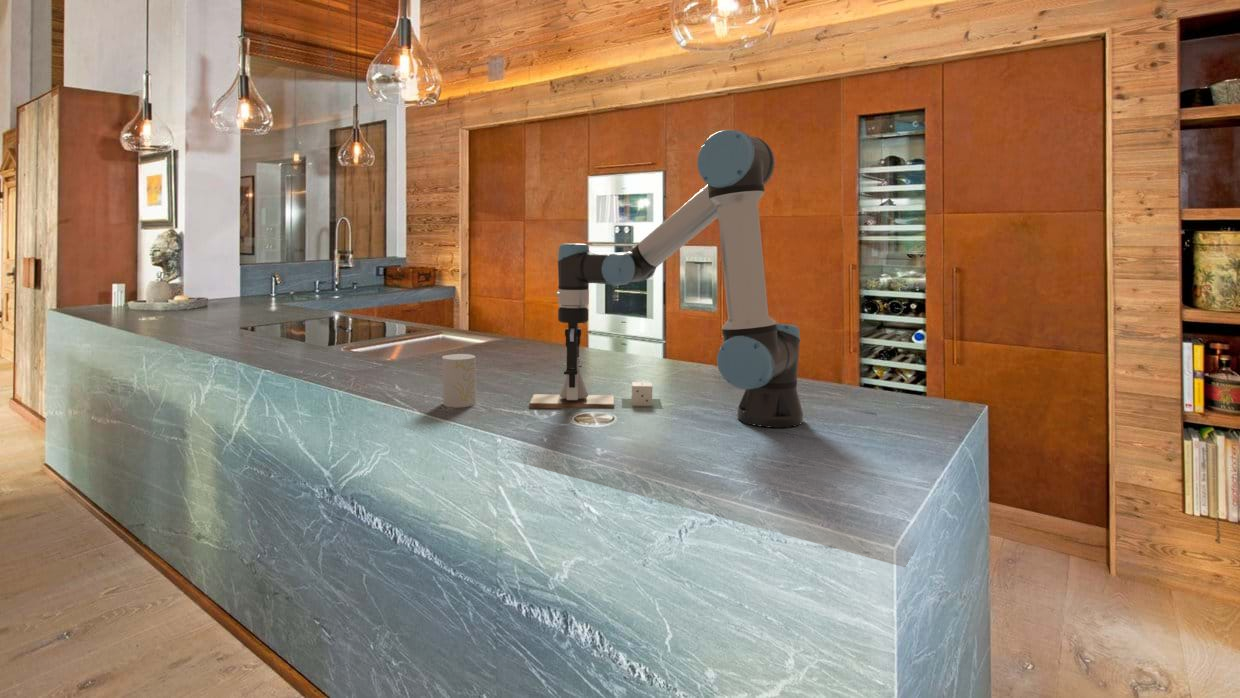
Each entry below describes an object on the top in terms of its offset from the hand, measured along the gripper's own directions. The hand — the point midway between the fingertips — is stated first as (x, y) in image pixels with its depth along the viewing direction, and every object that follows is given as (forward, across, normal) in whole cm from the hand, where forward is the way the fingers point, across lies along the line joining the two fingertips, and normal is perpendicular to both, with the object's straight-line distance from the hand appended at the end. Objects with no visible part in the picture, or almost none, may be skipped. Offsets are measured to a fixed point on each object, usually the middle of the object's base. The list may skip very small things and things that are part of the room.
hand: (573, 395), depth 177 cm
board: (+2, 0, 0) cm, 2 cm away
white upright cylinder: (+2, +1, -28) cm, 29 cm away
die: (+2, 0, +18) cm, 18 cm away
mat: (+2, 0, +18) cm, 18 cm away
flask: (0, 0, 0) cm, 0 cm away
